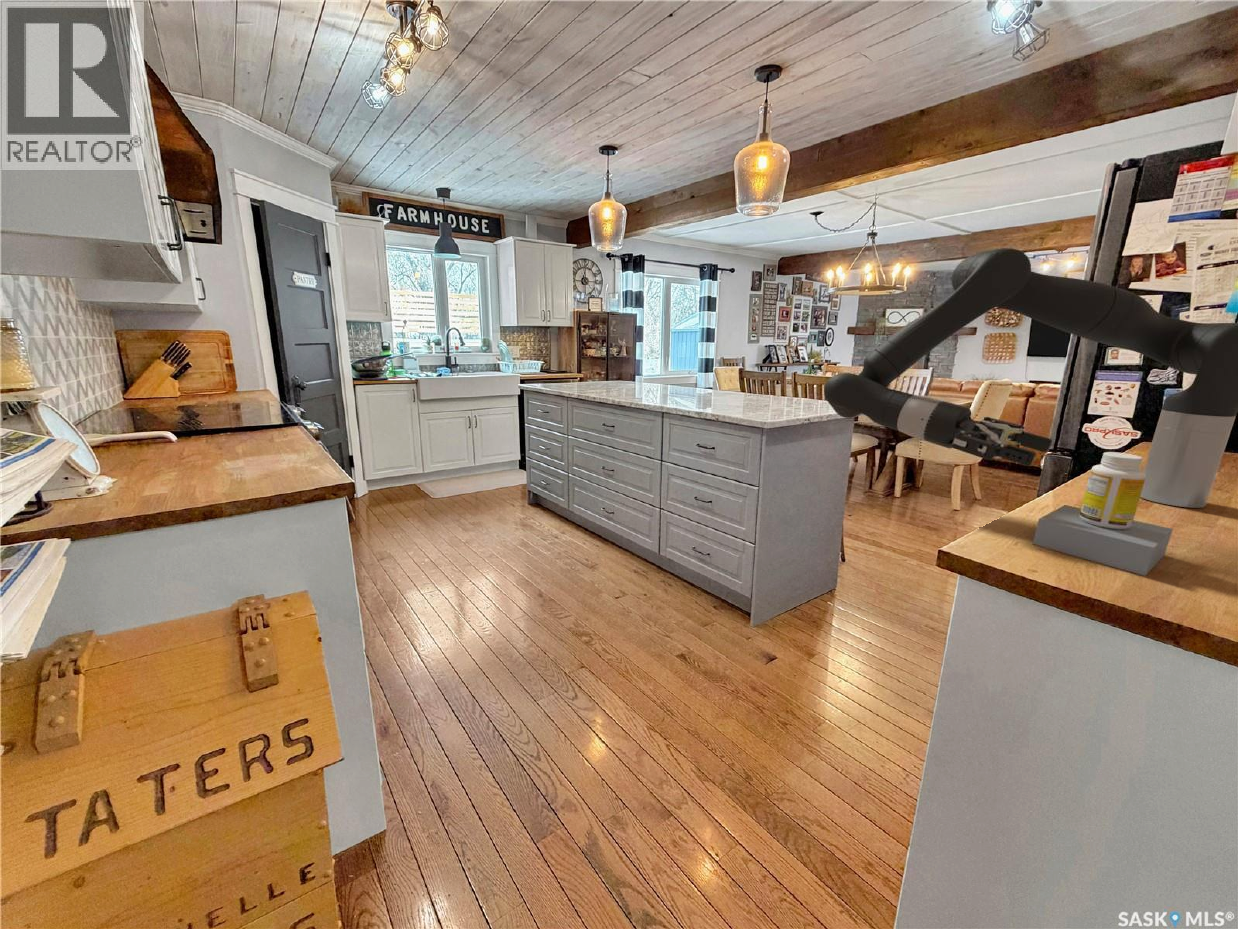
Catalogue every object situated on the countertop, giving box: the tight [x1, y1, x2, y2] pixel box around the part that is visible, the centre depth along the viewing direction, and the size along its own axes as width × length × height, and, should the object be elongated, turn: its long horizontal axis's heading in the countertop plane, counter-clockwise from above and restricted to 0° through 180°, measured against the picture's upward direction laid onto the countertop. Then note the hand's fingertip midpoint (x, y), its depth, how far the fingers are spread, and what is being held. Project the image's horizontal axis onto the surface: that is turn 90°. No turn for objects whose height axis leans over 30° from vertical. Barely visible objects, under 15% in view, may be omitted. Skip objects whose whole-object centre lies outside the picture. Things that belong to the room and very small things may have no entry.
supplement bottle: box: [1080, 451, 1146, 529], centre depth 71 cm, size 6×6×10 cm
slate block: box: [1032, 504, 1174, 577], centre depth 73 cm, size 12×12×4 cm
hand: (1041, 452), depth 78 cm, fingers open, 8 cm apart
